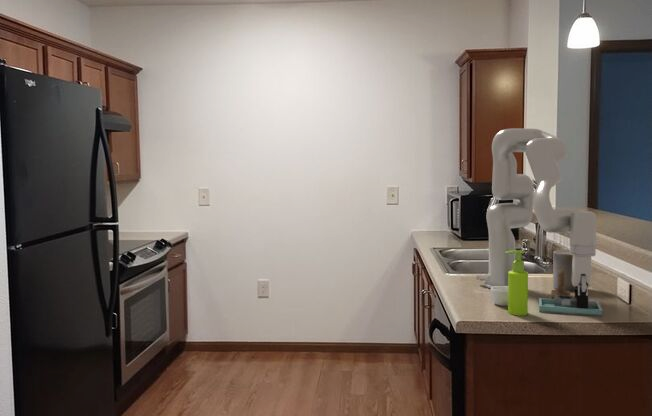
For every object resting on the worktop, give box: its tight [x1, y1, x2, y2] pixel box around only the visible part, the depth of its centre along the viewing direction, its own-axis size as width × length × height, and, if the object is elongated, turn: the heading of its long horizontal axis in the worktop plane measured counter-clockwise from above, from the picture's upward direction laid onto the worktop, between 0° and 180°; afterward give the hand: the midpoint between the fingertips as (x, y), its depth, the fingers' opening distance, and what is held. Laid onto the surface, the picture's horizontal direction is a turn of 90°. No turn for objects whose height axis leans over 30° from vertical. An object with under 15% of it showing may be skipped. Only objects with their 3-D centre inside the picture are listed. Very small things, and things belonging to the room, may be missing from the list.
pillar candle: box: [552, 248, 577, 292], centre depth 210 cm, size 10×10×15 cm
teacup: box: [490, 286, 508, 307], centre depth 191 cm, size 10×8×5 cm
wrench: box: [554, 295, 597, 309], centre depth 181 cm, size 12×6×4 cm, turn 71°
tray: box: [538, 297, 603, 317], centre depth 182 cm, size 18×10×2 cm, turn 70°
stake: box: [547, 269, 572, 299], centre depth 191 cm, size 8×8×11 cm
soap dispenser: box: [505, 249, 529, 317], centre depth 178 cm, size 6×7×20 cm
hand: (581, 304), depth 180 cm, fingers open, 8 cm apart
